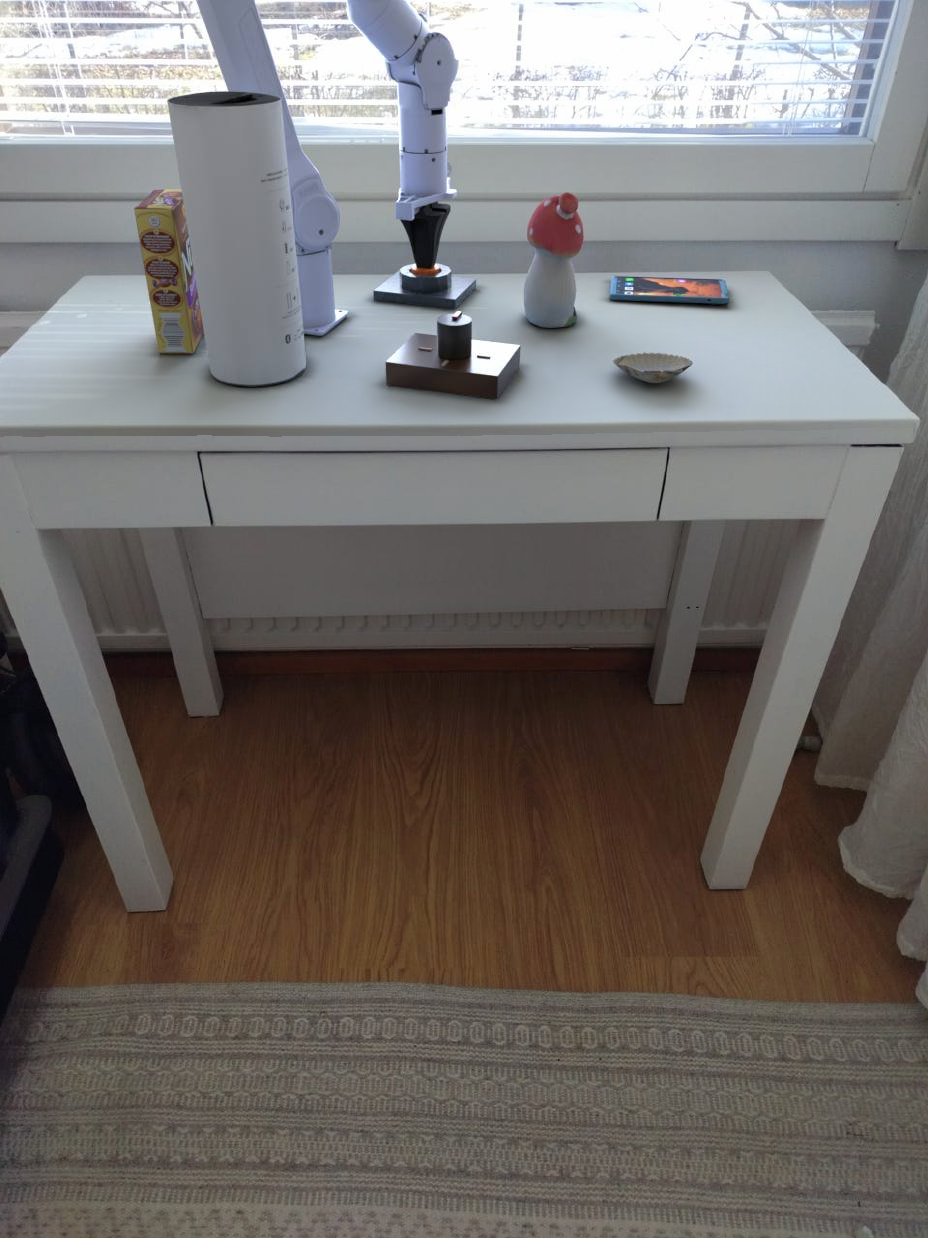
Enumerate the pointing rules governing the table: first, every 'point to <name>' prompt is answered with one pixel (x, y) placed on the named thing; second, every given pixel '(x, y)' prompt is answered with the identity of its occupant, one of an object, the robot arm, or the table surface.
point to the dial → (454, 336)
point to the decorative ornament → (553, 262)
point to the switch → (425, 270)
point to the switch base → (425, 288)
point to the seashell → (653, 366)
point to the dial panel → (453, 367)
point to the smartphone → (669, 289)
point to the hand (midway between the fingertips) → (425, 266)
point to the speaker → (241, 233)
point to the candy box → (169, 271)
